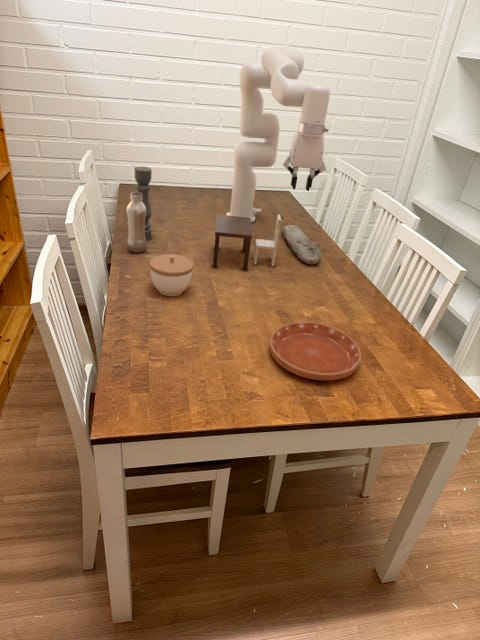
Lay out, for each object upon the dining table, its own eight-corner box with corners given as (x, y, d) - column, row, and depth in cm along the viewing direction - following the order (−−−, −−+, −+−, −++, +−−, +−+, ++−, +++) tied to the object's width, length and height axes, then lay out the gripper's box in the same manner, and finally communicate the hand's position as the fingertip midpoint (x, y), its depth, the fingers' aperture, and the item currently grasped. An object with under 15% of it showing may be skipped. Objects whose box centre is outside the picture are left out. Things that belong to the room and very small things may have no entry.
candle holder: (154, 236, 177) (155, 168, 164) (146, 242, 172) (146, 172, 159) (139, 233, 178) (139, 165, 165) (130, 238, 173) (130, 168, 160)
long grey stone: (299, 233, 200) (276, 234, 198) (301, 221, 197) (277, 221, 195) (326, 266, 170) (299, 266, 168) (328, 252, 167) (301, 252, 165)
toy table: (246, 251, 175) (250, 217, 168) (247, 271, 160) (252, 235, 154) (214, 247, 174) (217, 214, 167) (212, 267, 159) (215, 231, 153)
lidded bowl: (174, 277, 151) (175, 244, 145) (200, 293, 143) (202, 260, 138) (140, 287, 142) (140, 253, 137) (166, 305, 135) (167, 270, 130)
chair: (272, 259, 171) (279, 214, 162) (273, 266, 165) (281, 220, 157) (253, 257, 170) (259, 212, 161) (253, 264, 165) (260, 218, 156)
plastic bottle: (150, 250, 166) (150, 193, 156) (138, 256, 161) (138, 198, 150) (134, 245, 168) (134, 189, 158) (123, 251, 163) (121, 193, 152)
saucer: (295, 394, 108) (298, 381, 106) (253, 339, 125) (255, 327, 123) (376, 376, 117) (380, 364, 115) (326, 327, 134) (329, 316, 132)
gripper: (335, 130, 149) (323, 188, 158) (282, 124, 148) (274, 183, 157) (340, 134, 142) (327, 195, 152) (285, 128, 141) (275, 189, 151)
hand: (300, 188), depth 154 cm, fingers open, 3 cm apart
